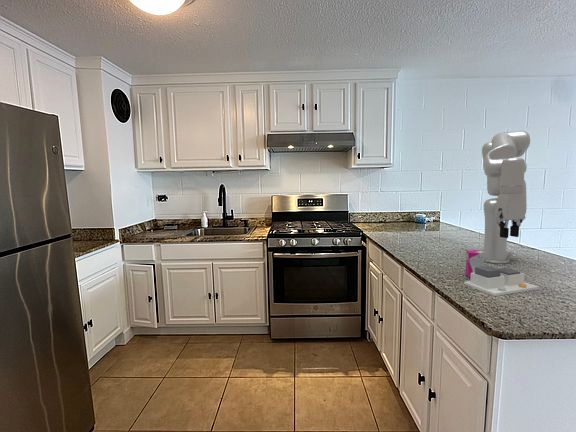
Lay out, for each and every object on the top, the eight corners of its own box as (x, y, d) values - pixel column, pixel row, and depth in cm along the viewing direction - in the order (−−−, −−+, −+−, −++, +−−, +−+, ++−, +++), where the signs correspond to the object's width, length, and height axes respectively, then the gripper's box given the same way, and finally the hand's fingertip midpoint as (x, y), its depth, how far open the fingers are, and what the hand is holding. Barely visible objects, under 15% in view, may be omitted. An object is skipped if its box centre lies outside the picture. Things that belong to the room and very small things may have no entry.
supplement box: (480, 275, 140) (481, 249, 138) (483, 279, 134) (484, 252, 133) (465, 274, 142) (466, 249, 140) (467, 278, 136) (468, 252, 135)
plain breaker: (486, 275, 129) (487, 265, 128) (500, 279, 123) (500, 269, 123) (474, 276, 127) (474, 267, 127) (487, 281, 121) (488, 271, 121)
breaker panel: (505, 278, 135) (505, 266, 134) (538, 289, 121) (539, 276, 121) (464, 284, 129) (464, 272, 129) (494, 296, 116) (495, 282, 115)
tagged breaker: (505, 277, 132) (506, 267, 131) (519, 281, 126) (520, 271, 125) (494, 279, 130) (494, 269, 130) (508, 283, 124) (508, 273, 124)
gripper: (519, 189, 129) (516, 233, 132) (485, 191, 125) (483, 237, 127) (537, 189, 122) (535, 236, 124) (503, 191, 118) (500, 240, 120)
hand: (509, 236), depth 126 cm, fingers open, 4 cm apart
